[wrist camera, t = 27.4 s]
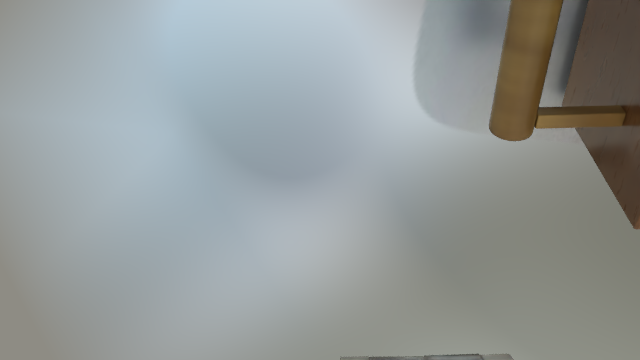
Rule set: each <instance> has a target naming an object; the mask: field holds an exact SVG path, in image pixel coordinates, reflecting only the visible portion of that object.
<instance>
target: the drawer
mask: <svg viewBox="0 0 640 360" xmlns="http://www.w3.org/2000/svg"><path fill="white" fill-rule="evenodd" d="M562 3H563V0H511V1H510V7H509V13H508V19H507V24H506V30H505V36H504V42H503V47H502V53H501V59H500V65H499V70H498V76H497V82H496V88H495V93H494V99H493V105H492V111H491V116H490V122H489V129H490V131H491V132H492V133H493V134H494V135H495V136H497V137H499V138H501V139H504V140H508V141H521V140H525V139H527V138H529V137H530V136H531V135H532V133H533V130H534V126H535V128H537V129H538V128H575V129H576V131H577V132H578V134H579V136H580V137H581V139H582V141H583V142H584V144H585V146H586V148H587V149H588V151H589V153H590V154H591V156H592V157H593V159H594V161H595V163H596V164H597V166H598V168H599V170H600V171H601V173H602V175H603V176H604V178H605V180H606V182H607V183H608V185H609V187H610V188H611V190H612V192H613V193H614V195H615V197H616V199H617V200H618V202H619V204H620V205H621V207H622V209H623V211H624V212H625V214H626V215H627V217H628V219H629V221H630V222H631V224H632V226H633V228H634V229H640V0H589V1H588V5H587V9H586V13H585V17H584V20H583V24H582V28H581V32H580V36H579V40H578V44H577V48H576V52H575V55H574V59H573V63H572V67H571V71H570V75H569V79H568V83H567V87H566V90H565V94H564V98H563V102H562V107H539V104H540V99H541V95H542V90H543V86H544V82H545V77H546V73H547V69H548V64H549V60H550V56H551V51H552V47H553V43H554V38H555V34H556V30H557V25H558V21H559V17H560V12H561V8H562Z"/></svg>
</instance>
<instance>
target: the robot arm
mask: <svg viewBox="0 0 640 360" xmlns="http://www.w3.org/2000/svg"><path fill="white" fill-rule="evenodd" d="M340 360H513V358H512V357H511V356H510V355H509V354H489V355H479V354H462V355H461V354H460V355H431V356H424V357H423V356H418V357H416V356H414V357H368V356H366V357H365V356H364V357H341V358H340Z"/></svg>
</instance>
